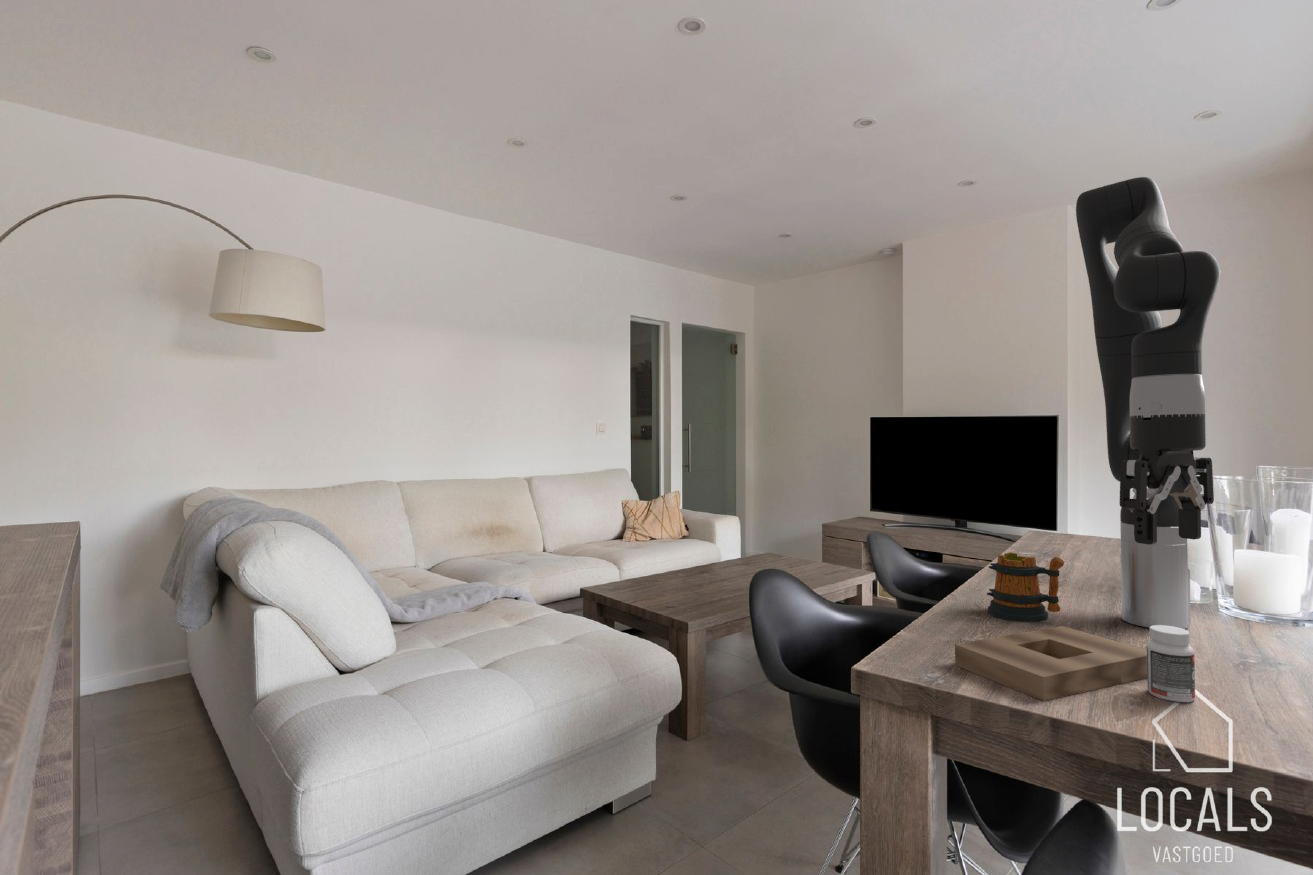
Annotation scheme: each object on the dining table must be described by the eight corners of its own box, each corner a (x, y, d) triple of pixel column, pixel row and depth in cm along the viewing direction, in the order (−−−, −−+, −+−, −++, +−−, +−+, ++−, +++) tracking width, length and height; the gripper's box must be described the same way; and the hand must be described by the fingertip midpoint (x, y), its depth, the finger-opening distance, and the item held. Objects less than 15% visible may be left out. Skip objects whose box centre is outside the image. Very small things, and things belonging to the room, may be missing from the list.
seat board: (1063, 645, 103) (1062, 625, 102) (1159, 675, 89) (1159, 653, 89) (955, 664, 95) (954, 644, 95) (1043, 701, 82) (1043, 676, 81)
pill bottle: (1204, 704, 80) (1203, 635, 80) (1160, 701, 81) (1159, 634, 81) (1181, 689, 84) (1180, 624, 84) (1140, 687, 85) (1139, 623, 85)
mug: (975, 613, 121) (974, 551, 121) (1002, 604, 127) (1001, 545, 127) (1052, 629, 111) (1051, 561, 111) (1077, 618, 117) (1076, 554, 117)
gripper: (1170, 413, 89) (1172, 533, 89) (1098, 413, 84) (1099, 540, 84) (1236, 411, 82) (1238, 541, 82) (1161, 411, 77) (1163, 550, 77)
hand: (1168, 541), depth 83 cm, fingers open, 8 cm apart
